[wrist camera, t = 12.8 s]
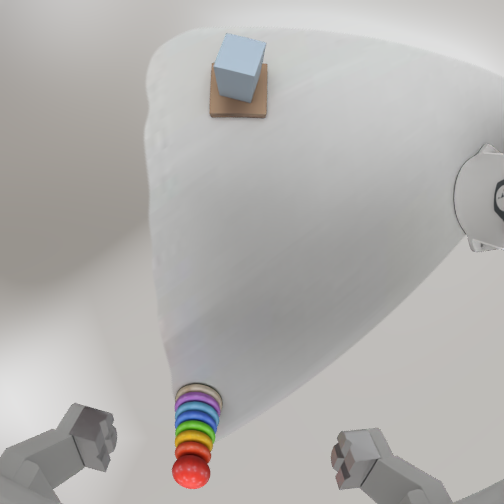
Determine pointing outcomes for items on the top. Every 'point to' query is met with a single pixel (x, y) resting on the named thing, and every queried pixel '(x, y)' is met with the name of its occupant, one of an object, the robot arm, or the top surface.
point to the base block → (237, 108)
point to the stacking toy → (195, 433)
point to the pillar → (239, 67)
